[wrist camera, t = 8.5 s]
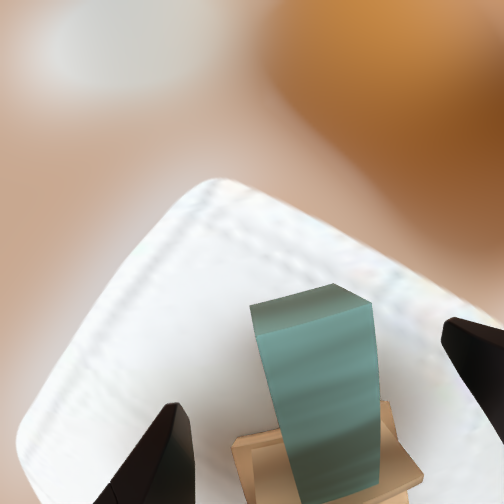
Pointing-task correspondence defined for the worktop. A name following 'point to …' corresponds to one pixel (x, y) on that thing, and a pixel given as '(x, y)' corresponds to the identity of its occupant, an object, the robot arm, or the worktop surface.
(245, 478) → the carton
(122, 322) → the worktop surface
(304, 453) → the tall teal pillar
